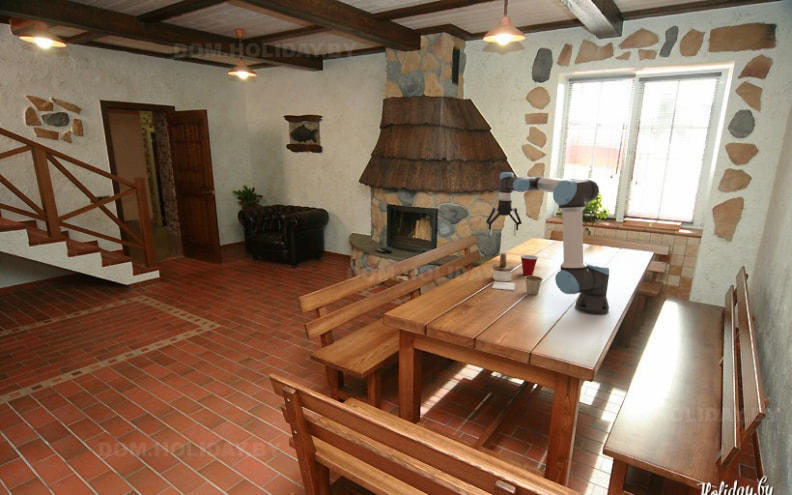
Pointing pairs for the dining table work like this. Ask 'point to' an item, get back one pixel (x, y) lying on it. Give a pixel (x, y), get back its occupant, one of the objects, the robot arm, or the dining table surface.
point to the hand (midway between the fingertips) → (502, 235)
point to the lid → (502, 264)
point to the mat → (503, 285)
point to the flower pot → (533, 284)
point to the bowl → (502, 275)
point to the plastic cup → (528, 264)
